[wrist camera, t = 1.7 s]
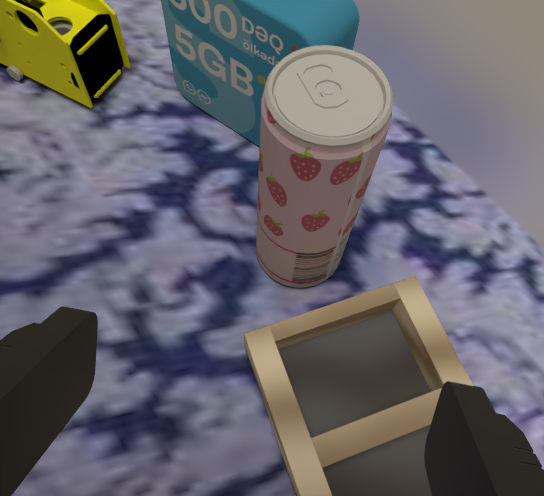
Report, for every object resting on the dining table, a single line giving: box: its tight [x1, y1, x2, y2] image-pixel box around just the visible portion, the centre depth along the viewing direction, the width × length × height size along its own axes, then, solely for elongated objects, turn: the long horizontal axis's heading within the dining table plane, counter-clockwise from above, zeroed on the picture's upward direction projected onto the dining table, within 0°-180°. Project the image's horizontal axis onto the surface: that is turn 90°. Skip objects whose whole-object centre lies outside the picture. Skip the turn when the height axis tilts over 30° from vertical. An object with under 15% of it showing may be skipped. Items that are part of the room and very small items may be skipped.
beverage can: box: [256, 45, 393, 288], centre depth 28 cm, size 6×6×15 cm
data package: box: [161, 0, 359, 147], centre depth 34 cm, size 12×4×12 cm, turn 53°
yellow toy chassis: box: [0, 0, 131, 108], centre depth 38 cm, size 16×6×8 cm, turn 61°
